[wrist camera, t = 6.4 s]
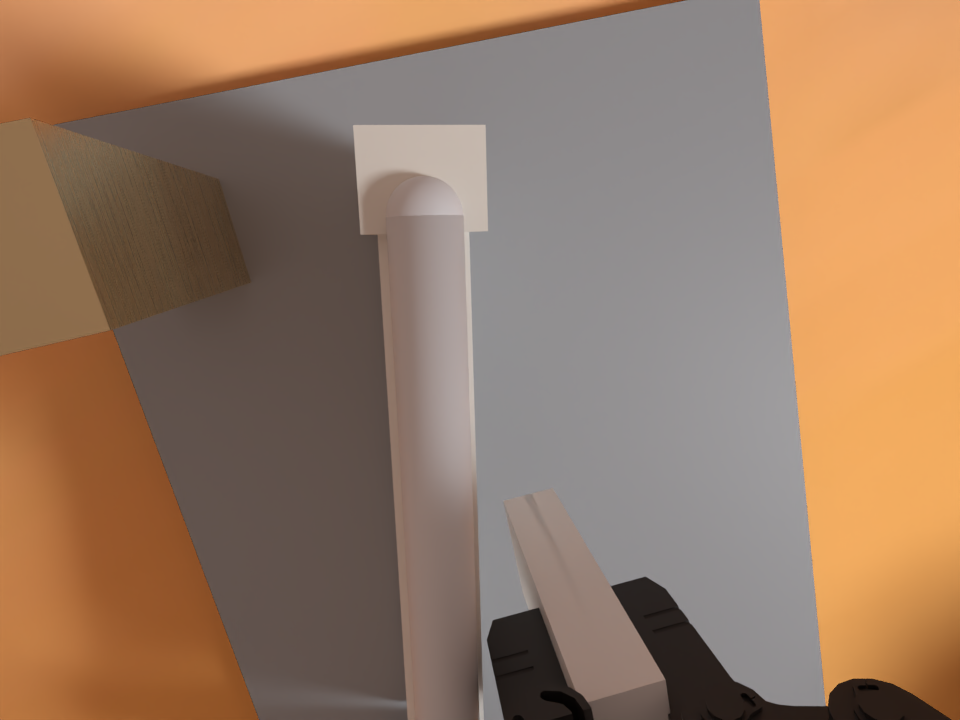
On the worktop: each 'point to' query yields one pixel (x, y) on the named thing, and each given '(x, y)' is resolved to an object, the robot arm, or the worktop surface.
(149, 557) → the worktop surface
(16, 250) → the post
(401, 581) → the rod
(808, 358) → the worktop surface
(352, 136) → the board
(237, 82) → the worktop surface
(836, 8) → the worktop surface
